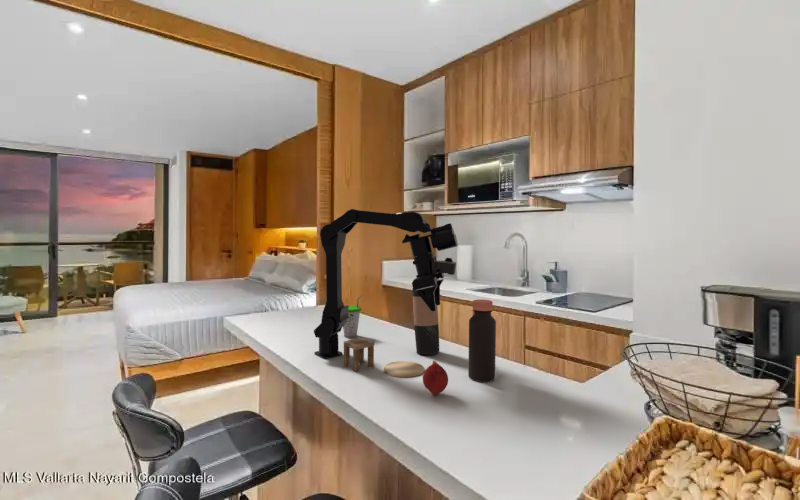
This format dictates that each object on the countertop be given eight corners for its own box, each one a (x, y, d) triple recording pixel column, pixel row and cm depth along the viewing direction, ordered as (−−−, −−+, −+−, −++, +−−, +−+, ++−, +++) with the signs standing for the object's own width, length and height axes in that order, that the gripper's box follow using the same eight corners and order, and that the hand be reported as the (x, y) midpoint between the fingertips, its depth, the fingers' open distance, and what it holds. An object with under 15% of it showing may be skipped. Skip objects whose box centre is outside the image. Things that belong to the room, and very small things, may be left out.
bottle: (497, 375, 103) (498, 299, 102) (492, 384, 97) (493, 304, 96) (472, 371, 106) (473, 298, 105) (465, 379, 100) (466, 302, 99)
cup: (336, 338, 139) (336, 296, 138) (343, 332, 146) (343, 292, 146) (358, 339, 137) (358, 296, 137) (363, 333, 145) (363, 293, 144)
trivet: (375, 369, 108) (375, 366, 107) (405, 360, 115) (405, 358, 115) (401, 380, 99) (401, 378, 99) (432, 371, 106) (432, 368, 106)
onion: (450, 391, 92) (450, 358, 92) (444, 401, 87) (445, 366, 87) (426, 388, 94) (426, 355, 94) (419, 397, 89) (419, 363, 88)
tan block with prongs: (343, 366, 110) (343, 341, 109) (361, 361, 114) (361, 337, 113) (355, 372, 105) (355, 346, 105) (373, 367, 109) (373, 342, 109)
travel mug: (440, 348, 126) (436, 286, 126) (440, 354, 118) (436, 287, 119) (416, 349, 126) (412, 287, 127) (415, 355, 119) (411, 289, 119)
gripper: (446, 250, 101) (460, 308, 101) (453, 246, 119) (466, 296, 119) (405, 260, 104) (419, 317, 104) (418, 255, 122) (431, 304, 122)
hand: (436, 308), depth 112 cm, fingers open, 8 cm apart
